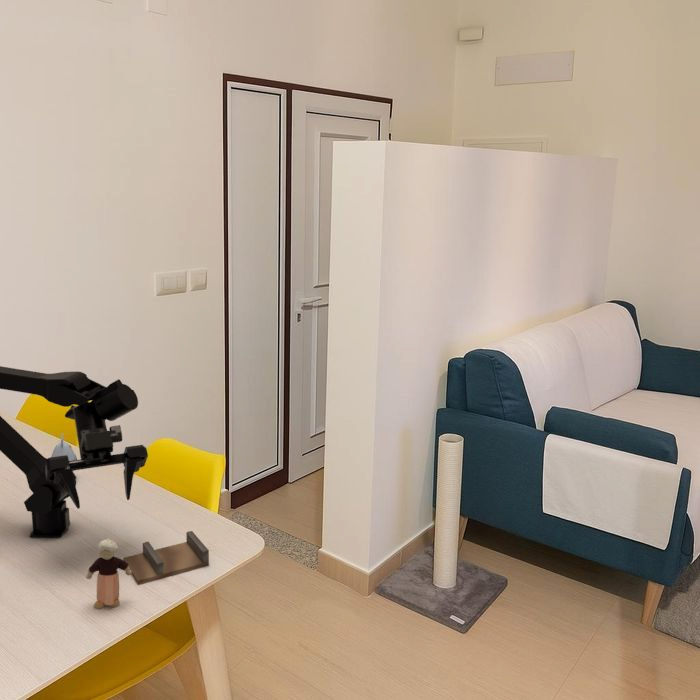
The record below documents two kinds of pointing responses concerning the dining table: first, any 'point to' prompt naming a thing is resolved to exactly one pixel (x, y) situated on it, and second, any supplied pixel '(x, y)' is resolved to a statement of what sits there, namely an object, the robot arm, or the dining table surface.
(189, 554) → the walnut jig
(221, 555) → the dining table surface
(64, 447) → the toy figure
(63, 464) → the robot arm
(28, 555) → the dining table surface
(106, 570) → the grandmother figurine
